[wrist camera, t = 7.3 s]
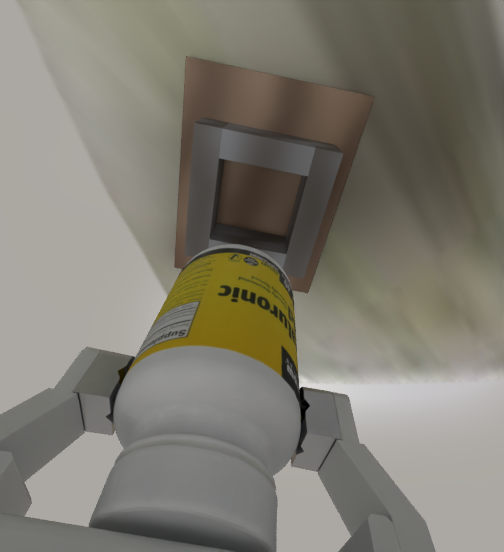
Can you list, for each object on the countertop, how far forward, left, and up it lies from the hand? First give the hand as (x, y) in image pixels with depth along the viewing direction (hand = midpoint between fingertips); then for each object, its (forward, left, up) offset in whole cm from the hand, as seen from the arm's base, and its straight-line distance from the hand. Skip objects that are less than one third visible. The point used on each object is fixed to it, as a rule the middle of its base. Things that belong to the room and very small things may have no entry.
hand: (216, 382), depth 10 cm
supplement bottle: (0, 0, -6) cm, 6 cm away
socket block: (0, 0, -21) cm, 21 cm away
